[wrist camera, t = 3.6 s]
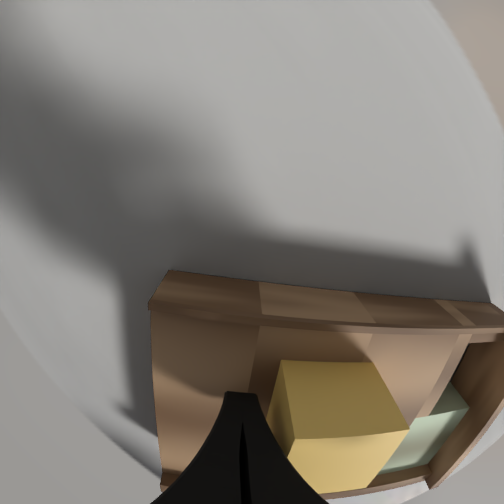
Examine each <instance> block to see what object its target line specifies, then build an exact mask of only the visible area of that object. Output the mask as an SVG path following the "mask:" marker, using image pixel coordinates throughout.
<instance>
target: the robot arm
mask: <svg viewBox="0 0 504 504" xmlns="http://www.w3.org/2000/svg"><path fill="white" fill-rule="evenodd" d="M150 504H329V503H328V502H327V501H325V500H324V499H323V498H322V497H321V496H320V495H319V494H318V493H317V492H316V491H315V490H314V489H313V488H312V487H311V486H310V485H309V484H308V483H307V482H306V481H305V480H304V479H303V478H302V476H301V475H300V474H299V473H298V472H297V470H296V469H295V468H294V466H293V465H292V464H291V462H290V461H289V460H288V458H287V457H286V455H285V454H284V452H283V451H282V449H281V447H280V446H279V444H278V442H277V441H276V439H275V437H274V435H273V433H272V431H271V429H270V427H269V425H268V423H267V421H266V419H265V416H264V414H263V411H262V409H261V406H260V403H259V400H258V396H257V395H256V394H255V393H245V392H234V391H226V392H225V393H224V399H223V403H222V406H221V409H220V412H219V414H218V417H217V419H216V421H215V423H214V425H213V427H212V429H211V431H210V433H209V435H208V436H207V438H206V440H205V441H204V443H203V445H202V446H201V448H200V450H199V451H198V453H197V454H196V455H195V457H194V458H193V460H192V461H191V462H190V464H189V465H188V466H187V467H186V468H185V470H184V471H183V472H182V473H181V475H180V476H179V477H178V478H177V479H176V480H175V481H174V482H173V483H172V484H171V485H170V486H169V487H168V488H167V489H166V490H165V491H164V492H163V493H162V494H161V495H160V496H159V497H158V498H157V499H156V500H154V501H153V502H152V503H150Z"/></svg>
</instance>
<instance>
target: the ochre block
mask: <svg viewBox="0 0 504 504" xmlns="http://www.w3.org/2000/svg"><path fill="white" fill-rule="evenodd" d="M266 421H267V423H268V425H269V427H270V429H271V431H272V433H273V435H274V437H275V439H276V441H277V442H278V444H279V446H280V447H281V449H282V451H283V452H284V454H285V455H286V457H287V458H288V460H289V461H290V462H291V464H292V465H293V466H294V468H295V469H296V470H297V472H298V473H299V474H300V475H301V476H302V478H303V479H304V480H305V481H306V482H307V483H308V484H309V485H310V486H311V487H312V488H313V489H314V490H315V491H316V492H317V493H318V494H322V493H332V492H341V491H348V490H355V489H362V488H366V487H367V486H368V485H369V484H370V482H371V481H372V480H373V479H374V478H375V476H376V475H377V474H378V473H379V471H380V470H381V469H382V468H383V466H384V465H385V464H386V462H387V461H388V460H389V459H390V457H391V456H392V455H393V453H394V452H395V450H396V449H397V448H398V446H399V445H400V443H401V442H402V441H403V439H404V438H405V436H406V435H407V433H408V432H409V430H410V428H409V426H408V424H407V422H406V420H405V419H404V417H403V415H402V413H401V411H400V409H399V408H398V406H397V404H396V402H395V400H394V398H393V397H392V395H391V393H390V391H389V389H388V388H387V386H386V384H385V382H384V381H383V379H382V377H381V375H380V374H379V372H378V370H377V368H376V367H375V365H374V363H373V362H313V361H293V360H281V362H280V367H279V371H278V375H277V379H276V383H275V387H274V391H273V395H272V398H271V402H270V406H269V410H268V414H267V417H266Z"/></svg>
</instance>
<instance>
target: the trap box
mask: <svg viewBox="0 0 504 504" xmlns="http://www.w3.org/2000/svg"><path fill="white" fill-rule="evenodd" d="M148 310H150V311H151V353H152V374H153V390H154V403H155V414H156V424H157V434H158V442H159V450H160V458H161V465H162V472H163V473H162V477H161V482H160V488H161V491H162V492H164V491H165V490H166V489H167V488H168V487H169V486H170V485H171V484H172V483H173V482H174V481H175V480H176V479H177V478H178V477H179V476H180V475H181V473H182V472H183V471H184V470H185V468H186V467H187V466H188V465H189V464H190V462H191V461H192V460H193V458H194V457H195V455H196V454H197V453H198V451H199V450H200V448H201V446H202V445H203V443H204V441H205V440H206V438H207V436H208V435H209V433H210V431H211V429H212V427H213V425H214V423H215V421H216V419H217V417H218V414H219V412H220V409H221V406H222V403H223V399H224V393H225V392H226V391H234V392H245V393H255V394H256V395H257V396H258V400H259V403H260V406H261V409H262V411H263V414H264V416H265V419H266V417H267V414H268V410H269V406H270V402H271V398H272V395H273V391H274V387H275V383H276V379H277V375H278V371H279V367H280V362H281V360H293V361H313V362H373V363H374V365H375V367H376V368H377V370H378V372H379V374H380V375H381V377H382V379H383V381H384V382H385V384H386V386H387V388H388V389H389V391H390V393H391V395H392V397H393V398H394V400H395V402H396V404H397V406H398V408H399V409H400V411H401V413H402V415H403V417H404V419H405V420H406V422H407V424H408V426H409V428H410V430H409V432H408V433H407V435H406V436H405V438H404V439H403V441H402V442H401V443H400V445H399V446H398V448H397V449H396V450H395V452H394V453H393V455H392V456H391V457H390V459H389V460H388V461H387V462H386V464H385V465H384V466H383V468H382V469H381V470H380V471H379V473H378V474H377V475H376V476H375V478H374V479H373V480H372V481H371V482H370V484H369V485H368V486H367V487H366V488H362V489H355V490H348V491H341V492H332V493H322V494H319V495H320V496H321V497H322V498H323V499H324V500H326V499H336V498H344V497H351V496H358V495H364V494H369V493H375V492H380V491H385V490H389V489H394V488H398V487H402V486H406V485H410V484H414V483H418V482H421V481H426V483H427V485H428V487H429V490H430V489H433V488H436V487H438V486H439V485H440V484H441V483H442V482H443V481H444V480H445V479H446V478H447V477H448V476H449V475H450V474H451V473H452V472H453V470H454V469H455V468H456V467H457V466H458V465H459V464H460V463H461V462H462V460H463V459H464V458H465V457H466V456H467V455H468V454H469V452H470V451H471V450H472V449H473V448H474V446H475V445H476V444H477V443H478V441H479V440H480V439H481V438H482V436H483V435H484V434H485V432H486V431H487V430H488V428H489V427H490V426H491V424H492V423H493V421H494V420H495V419H496V417H497V416H498V414H499V413H500V411H501V410H502V408H503V407H504V312H503V311H502V310H501V309H499V308H498V307H496V306H495V305H494V304H492V303H482V302H466V301H452V300H439V299H426V298H414V297H402V296H390V295H379V294H369V293H358V292H348V291H338V290H329V289H319V288H310V287H301V286H292V285H283V284H275V283H266V282H258V281H250V280H242V279H234V278H226V277H218V276H211V275H203V274H196V273H189V272H181V271H174V270H169V271H168V272H167V274H166V276H165V277H164V279H163V280H162V282H161V283H160V285H159V286H158V288H157V290H156V291H155V293H154V294H153V296H152V297H151V299H150V301H149V302H148Z"/></svg>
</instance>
